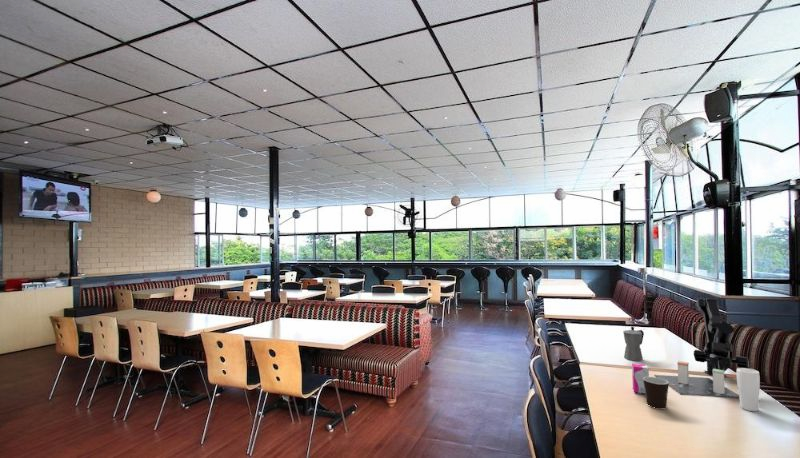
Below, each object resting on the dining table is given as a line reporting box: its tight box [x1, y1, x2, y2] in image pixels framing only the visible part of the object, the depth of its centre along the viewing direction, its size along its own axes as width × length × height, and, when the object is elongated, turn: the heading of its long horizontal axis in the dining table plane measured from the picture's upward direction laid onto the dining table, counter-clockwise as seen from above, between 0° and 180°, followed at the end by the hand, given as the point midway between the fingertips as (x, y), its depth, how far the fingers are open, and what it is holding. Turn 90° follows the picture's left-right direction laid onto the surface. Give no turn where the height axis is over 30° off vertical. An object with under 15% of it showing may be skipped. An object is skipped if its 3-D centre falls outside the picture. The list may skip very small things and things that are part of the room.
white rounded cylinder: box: [736, 367, 761, 413], centre depth 152 cm, size 7×7×15 cm
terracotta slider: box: [677, 360, 690, 385], centre depth 179 cm, size 3×4×9 cm
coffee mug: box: [643, 376, 669, 409], centre depth 156 cm, size 12×9×10 cm
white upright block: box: [712, 369, 726, 394], centre depth 167 cm, size 3×4×9 cm
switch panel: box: [653, 374, 740, 399], centre depth 176 cm, size 24×24×1 cm
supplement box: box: [631, 363, 650, 395], centre depth 170 cm, size 6×6×12 cm
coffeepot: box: [622, 326, 645, 362], centre depth 219 cm, size 15×9×18 cm, turn 113°
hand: (719, 375), depth 168 cm, fingers closed
